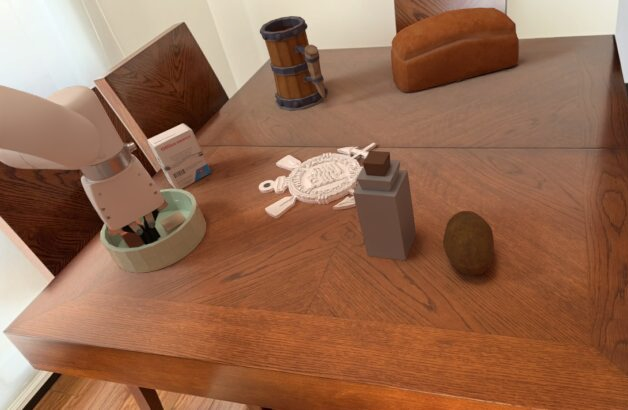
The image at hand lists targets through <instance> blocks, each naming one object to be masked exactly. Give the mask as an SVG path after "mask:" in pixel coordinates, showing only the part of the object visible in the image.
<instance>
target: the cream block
mask: <svg viewBox="0 0 628 410" xmlns="http://www.w3.org/2000/svg"><path fill="white" fill-rule="evenodd" d="M185 221H186V218H185V217H184V216H183V215H182V214H181V213H180V212H179V211H178V212H176V213H174V214H173V215H171V216H169V217H167V218H165V219H163V220H162V221H160V224H161V226H162V228H163V229H164V231H165V233H166V235H167V236H168V235H169V234H171V233H172V232H173V231H175V230H176V229H177V228H178V227H180V226H181V225H182V224H183V223H184V222H185Z"/></svg>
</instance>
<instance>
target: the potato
mask: <svg viewBox="0 0 628 410" xmlns="http://www.w3.org/2000/svg"><path fill="white" fill-rule="evenodd" d="M494 245H495V243H494V233H493V229H492V227H491V225H490V224H489V222H488V221H486V219H484V218H483V217H482V216H481V215H480V214H478V213H477V212H475V211H471V210H461V211H459V212H456V213H454V214H453V215H452V216H451V217H450V218H449V220H448V222H447V223H446V226H445V230H444V234H443V238H442V247H443V250H444V252H445V254H446V257H447V258H448V260H449V262H450V263H451V264H452V266H453V268H454V269H455V270H456V271H457V272H459V273H461V274H463V275H465V276H470V277H474V276H475V277H476V276H480V275H481V274H483V273H485V272H486V271H487V270H488V269H489V268H490V267H491V265H492V262H493V259H494Z"/></svg>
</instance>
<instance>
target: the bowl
mask: <svg viewBox="0 0 628 410" xmlns="http://www.w3.org/2000/svg"><path fill="white" fill-rule="evenodd" d="M159 191H160V192H161V194H162V196H163V199H164V200H165V201H166V202H167V203H168V206H167V207H165V208H164V209H163V210H162V211H161V212H159V214H158V216H157V219H156V221H155V223H156V225H155V227H156V229H157V231H158V233H159V234H160V236H161V237H160V238H158V241H156V242H154V243H151V244H147V245H145V244H143V245H141V246H140V247H135V248H129V247H128V245H127V244H126V243H125V241H124V240H123V238H122V237H121V235H120V234H117V235H113V236H111V235H110V234H109V233H108V231H107V227H106V224H105V223H104V222H103V223H104V224H103V225H102V228H101V230H100V233H99V234H100V238H99V239H100V242H101V243H102V245H103V246H104V248H105V249H106V250H107V252H108V254H109V255H110V257H111V258H112V259H113V261H114V262H115V264H116V265H117V267H118V268H120V269H121V270H123V271H125V272H128V273H135V274H143V273H149V272H155V271H158V270H161V269H164V268H167V267H170V266H172V265H174V264H175V263H177V262H179V261H181V260H182V259H184V258H185V257H187V256H188V255H189V254H190V253H192V252H193V251H194V250H195V249H196V248H197V247H198V246H199V245H200V243H201V242H202V241H203V239H204V237H205V234H206V232H207V226H208V225H207V224H208V223H207V221H206V218H205V215H204V213H203V211H202V209H201V207H200V205H199V203H198V201H197V199H196V197H195V196H194V194H192V192H190V191H187V190H185V189H183V188H182V189H175V188H164V189H159ZM178 211H179V212H180V213H181V214H182V215H183V216H184V217H185V218H186V221H185V222H184V223H183V224H182V225H181V226H180V227H178V228H177V229H176V230H175V231H173V232H172V233H171V234H169V235H168V236H167V235H166V233H165V231H164V229H163V228H162V226H161V224H160V221H162V220H163V219H165V218H167V217H169V216H171V215H173V214H174V213H176V212H178ZM138 220H139V221H140V222H141V223H142V224H143V222H144V220H143V217H141V218H139V219H138ZM143 225H144V224H143ZM144 228H145V227H144Z"/></svg>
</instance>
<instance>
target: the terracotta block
mask: <svg viewBox="0 0 628 410" xmlns="http://www.w3.org/2000/svg"><path fill="white" fill-rule="evenodd" d="M136 222H137V223H138V224H141V226H143V224H142V223H141V222H140V221H139V220H138V219H137V220H136ZM143 227H144V226H143ZM120 235H121V237H122V238H123V240H124V241H125V243H126V244H127V245H128V247H129V248H135V247H140V246H141V245H143V244H144V243H143V241H142V240H141V238H140V237H139V235H137V234H136V233H130V232H122V233H120Z"/></svg>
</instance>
